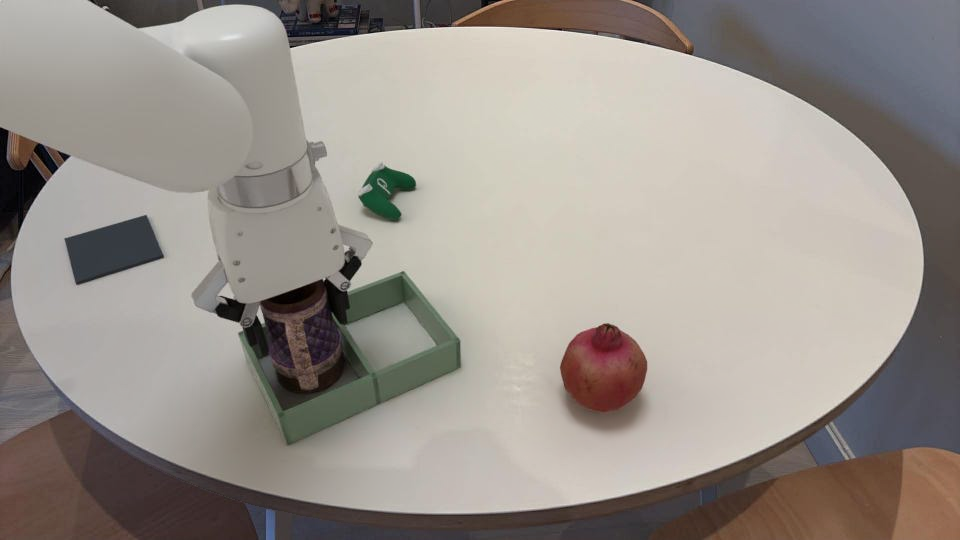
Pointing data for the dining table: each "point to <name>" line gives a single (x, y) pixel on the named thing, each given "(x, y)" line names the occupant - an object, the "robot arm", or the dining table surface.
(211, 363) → the dining table surface
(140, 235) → the mat
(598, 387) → the fruit
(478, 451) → the dining table surface
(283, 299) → the mug
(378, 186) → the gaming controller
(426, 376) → the divided box
